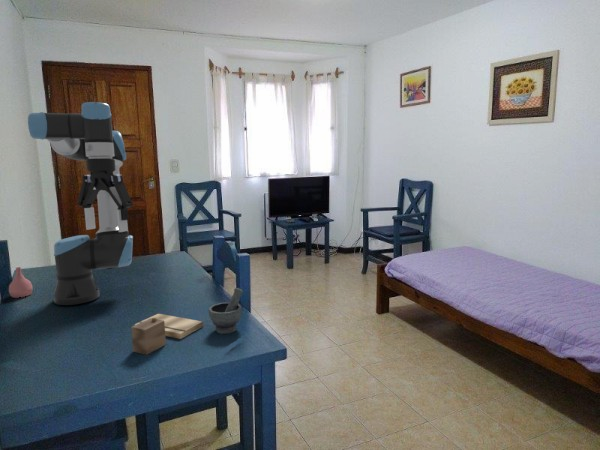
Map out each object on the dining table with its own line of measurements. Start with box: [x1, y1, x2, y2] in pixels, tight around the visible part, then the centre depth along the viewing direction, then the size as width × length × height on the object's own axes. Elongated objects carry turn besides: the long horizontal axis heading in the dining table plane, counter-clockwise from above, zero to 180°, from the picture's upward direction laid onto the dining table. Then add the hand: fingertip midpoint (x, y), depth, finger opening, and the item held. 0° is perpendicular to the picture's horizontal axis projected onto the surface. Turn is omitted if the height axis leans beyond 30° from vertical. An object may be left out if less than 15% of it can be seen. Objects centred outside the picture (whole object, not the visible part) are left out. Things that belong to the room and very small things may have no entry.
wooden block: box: [130, 317, 167, 355], centre depth 115 cm, size 5×7×8 cm
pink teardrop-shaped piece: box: [8, 266, 33, 299], centre depth 161 cm, size 8×8×12 cm
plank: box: [134, 313, 204, 340], centre depth 129 cm, size 18×10×2 cm, turn 64°
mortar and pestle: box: [208, 287, 244, 335], centre depth 127 cm, size 11×9×12 cm
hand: (106, 230), depth 125 cm, fingers open, 13 cm apart
